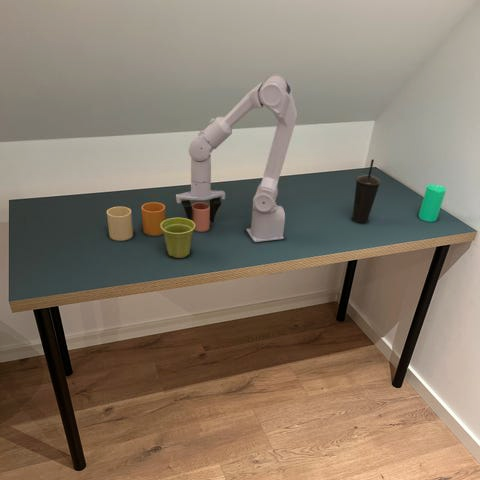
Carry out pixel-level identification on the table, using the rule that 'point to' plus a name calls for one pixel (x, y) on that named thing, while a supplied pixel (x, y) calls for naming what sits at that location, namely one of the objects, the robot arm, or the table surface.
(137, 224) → the table surface
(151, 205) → the ochre cup
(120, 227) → the cream cup
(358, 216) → the drinking cup
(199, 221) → the rose cup
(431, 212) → the candle
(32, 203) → the table surface
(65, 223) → the table surface
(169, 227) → the plant pot
